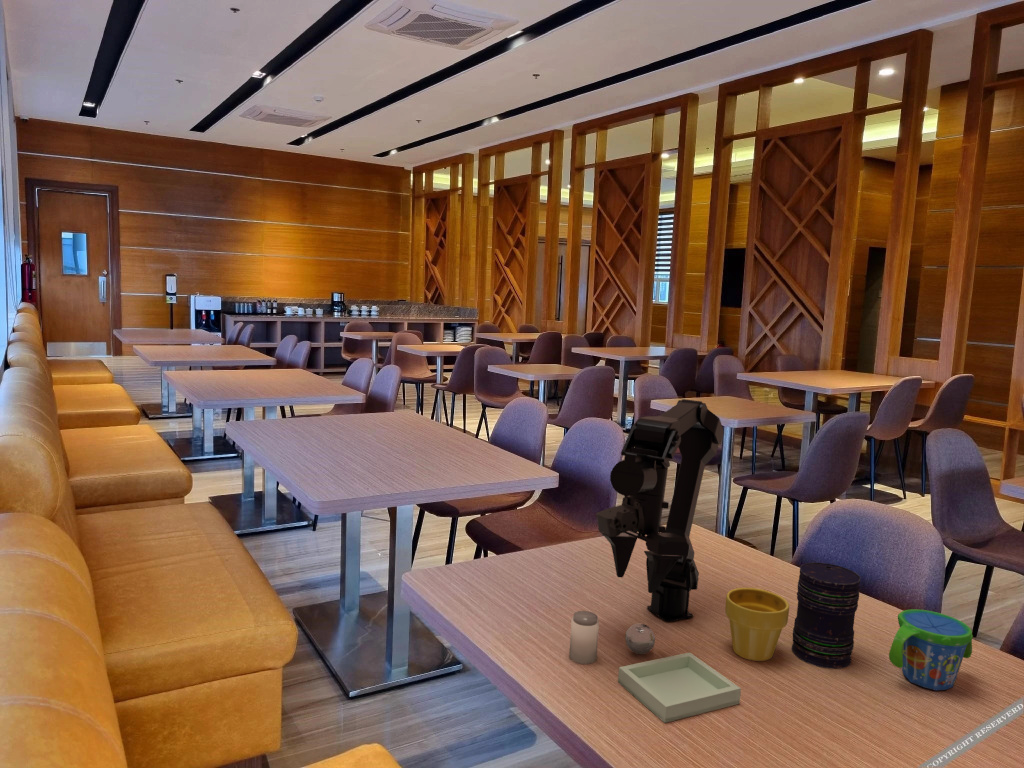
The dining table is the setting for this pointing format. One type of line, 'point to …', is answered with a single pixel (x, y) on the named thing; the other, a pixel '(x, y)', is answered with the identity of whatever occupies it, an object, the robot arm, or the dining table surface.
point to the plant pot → (755, 621)
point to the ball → (640, 638)
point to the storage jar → (825, 615)
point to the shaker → (584, 637)
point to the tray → (678, 686)
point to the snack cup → (930, 648)
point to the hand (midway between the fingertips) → (635, 584)
